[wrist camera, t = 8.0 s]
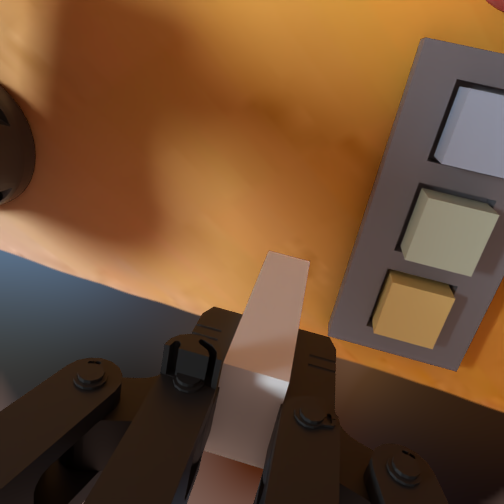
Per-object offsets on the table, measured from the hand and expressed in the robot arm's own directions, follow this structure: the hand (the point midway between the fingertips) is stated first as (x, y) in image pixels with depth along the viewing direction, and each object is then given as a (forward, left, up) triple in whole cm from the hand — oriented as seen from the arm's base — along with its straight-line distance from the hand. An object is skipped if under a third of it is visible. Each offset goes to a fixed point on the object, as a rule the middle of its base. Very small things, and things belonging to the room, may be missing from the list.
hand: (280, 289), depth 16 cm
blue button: (+13, +5, -28) cm, 32 cm away
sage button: (+13, -4, -28) cm, 31 cm away
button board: (+13, -4, -30) cm, 33 cm away
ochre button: (+13, -13, -30) cm, 35 cm away
